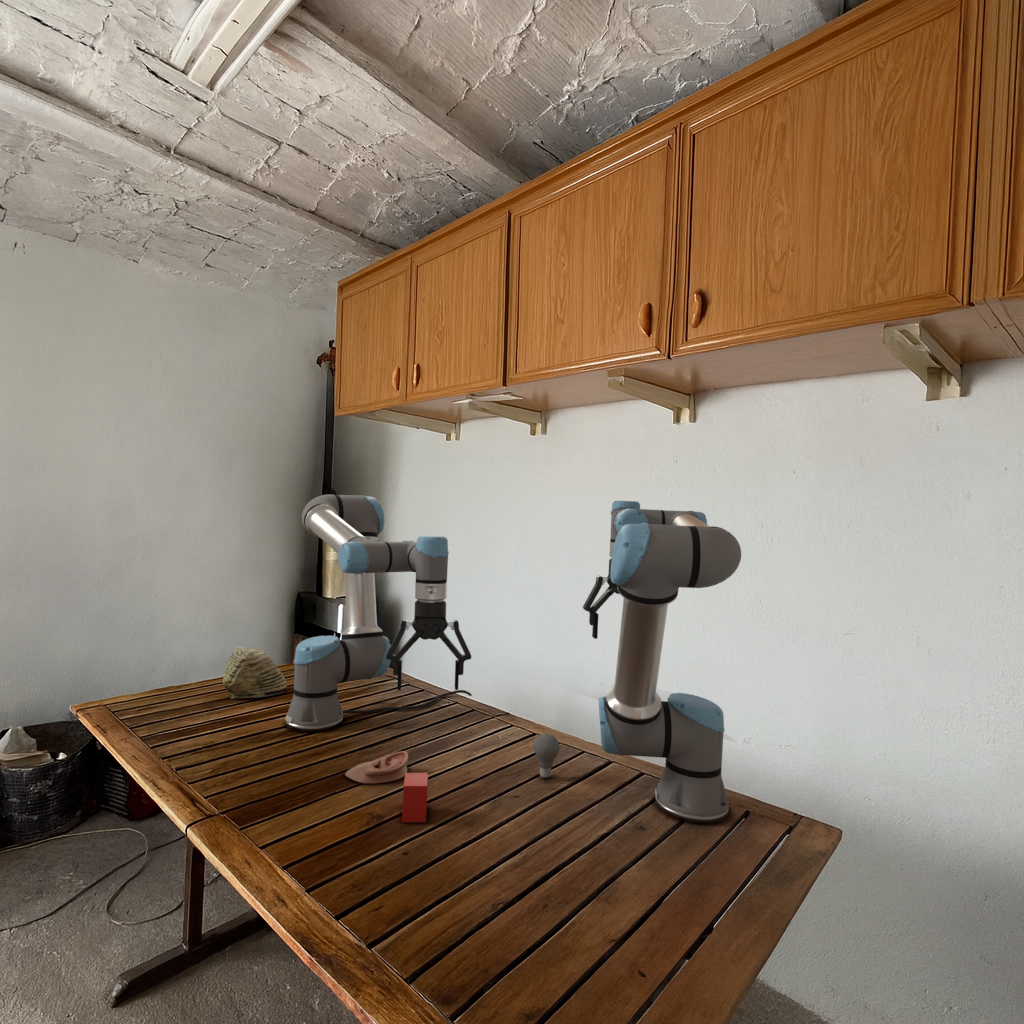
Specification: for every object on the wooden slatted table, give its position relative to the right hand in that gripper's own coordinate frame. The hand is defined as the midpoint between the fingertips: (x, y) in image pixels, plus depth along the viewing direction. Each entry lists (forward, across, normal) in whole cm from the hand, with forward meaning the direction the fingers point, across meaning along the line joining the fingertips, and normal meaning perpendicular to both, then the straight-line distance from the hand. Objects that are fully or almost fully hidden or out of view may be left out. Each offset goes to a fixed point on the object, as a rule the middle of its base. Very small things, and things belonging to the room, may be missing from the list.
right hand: (619, 638), depth 169 cm
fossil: (+29, -105, +40) cm, 116 cm away
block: (+29, -51, -36) cm, 69 cm away
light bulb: (+29, -22, -19) cm, 41 cm away
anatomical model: (+29, -61, -17) cm, 69 cm away
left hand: (+11, -50, -12) cm, 52 cm away
